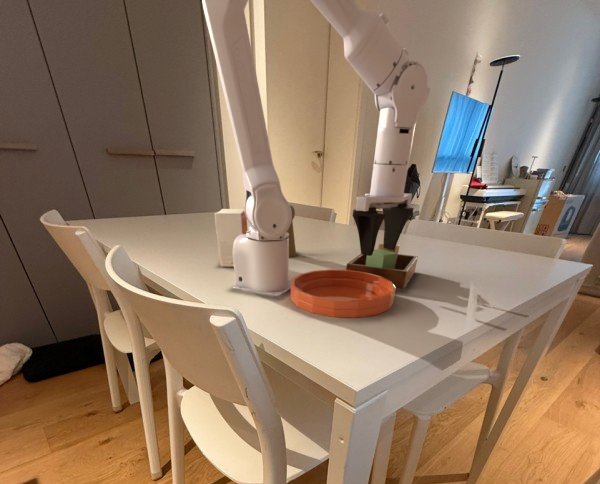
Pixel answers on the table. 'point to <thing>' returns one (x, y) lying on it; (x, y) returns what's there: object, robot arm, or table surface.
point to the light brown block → (381, 246)
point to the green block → (382, 259)
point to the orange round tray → (342, 293)
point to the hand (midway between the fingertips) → (378, 251)
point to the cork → (291, 235)
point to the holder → (396, 276)
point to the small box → (229, 232)
